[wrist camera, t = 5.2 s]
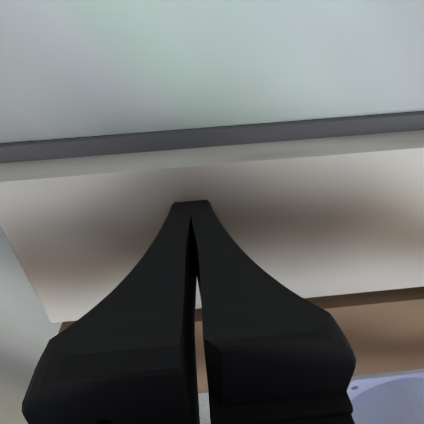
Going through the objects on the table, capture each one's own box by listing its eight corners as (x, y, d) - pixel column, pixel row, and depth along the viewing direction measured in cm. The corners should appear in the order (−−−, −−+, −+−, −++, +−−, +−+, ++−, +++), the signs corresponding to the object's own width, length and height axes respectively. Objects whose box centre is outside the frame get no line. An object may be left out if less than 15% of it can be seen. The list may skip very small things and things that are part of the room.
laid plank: (450, 341, 20) (467, 364, 19) (99, 378, 20) (94, 404, 18) (496, 267, 17) (521, 289, 16) (67, 308, 16) (58, 335, 15)
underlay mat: (454, 336, 21) (457, 340, 21) (92, 374, 20) (91, 379, 20) (604, 97, 12) (613, 99, 12) (-19, 145, 11) (-23, 148, 11)
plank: (504, 254, 16) (531, 275, 15) (61, 296, 15) (51, 323, 14) (589, 116, 12) (635, 130, 11) (0, 163, 11) (-22, 183, 10)
